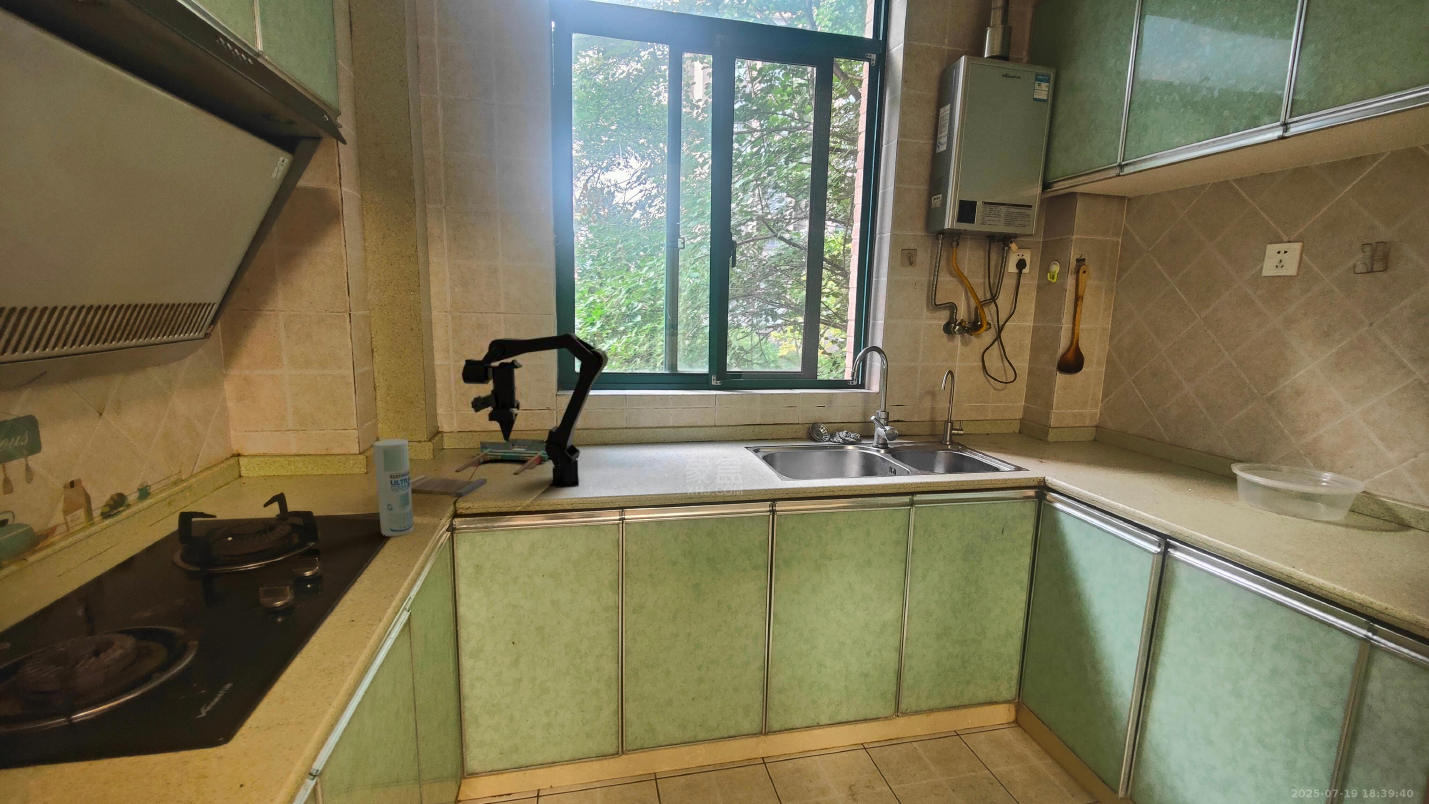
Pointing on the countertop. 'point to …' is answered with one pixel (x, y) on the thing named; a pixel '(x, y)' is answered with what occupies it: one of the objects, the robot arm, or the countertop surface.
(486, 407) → the robot arm
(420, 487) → the fence panel
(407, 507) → the spray can
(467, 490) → the base
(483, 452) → the miniature gate
